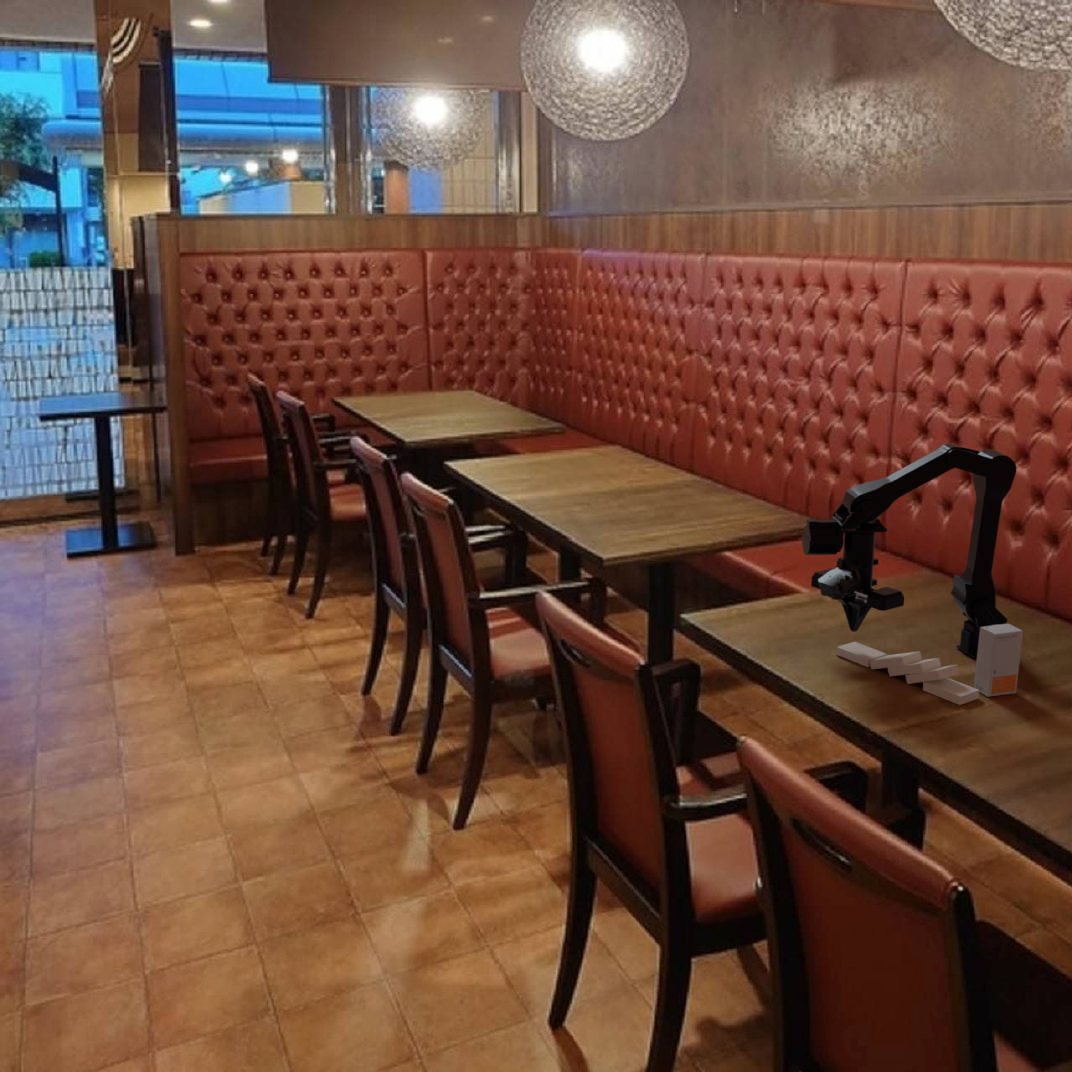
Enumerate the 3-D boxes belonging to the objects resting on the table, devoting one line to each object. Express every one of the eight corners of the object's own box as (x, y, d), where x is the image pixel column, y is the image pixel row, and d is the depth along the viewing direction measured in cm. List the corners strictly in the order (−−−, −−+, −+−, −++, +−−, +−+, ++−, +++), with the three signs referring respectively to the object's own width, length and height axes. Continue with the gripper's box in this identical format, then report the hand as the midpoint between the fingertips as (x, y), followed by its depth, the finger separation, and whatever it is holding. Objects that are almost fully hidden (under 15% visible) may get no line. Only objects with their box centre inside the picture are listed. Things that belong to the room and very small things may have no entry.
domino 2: (869, 661, 214) (901, 657, 207) (887, 655, 216) (920, 651, 209) (871, 669, 213) (904, 666, 207) (889, 663, 216) (922, 660, 209)
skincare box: (988, 698, 200) (994, 634, 196) (973, 688, 204) (978, 626, 200) (1017, 693, 201) (1024, 630, 198) (1002, 684, 205) (1008, 622, 202)
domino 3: (887, 668, 210) (920, 663, 203) (905, 662, 213) (939, 657, 206) (889, 676, 210) (923, 672, 203) (908, 670, 212) (941, 666, 206)
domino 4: (905, 675, 207) (937, 670, 200) (924, 669, 209) (957, 664, 202) (907, 684, 206) (940, 679, 199) (927, 678, 209) (960, 673, 202)
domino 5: (923, 681, 203) (960, 696, 196) (942, 675, 206) (979, 690, 199) (922, 690, 203) (959, 705, 197) (941, 684, 206) (978, 698, 199)
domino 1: (836, 646, 220) (868, 659, 214) (854, 641, 223) (886, 653, 216) (836, 654, 221) (867, 667, 214) (854, 649, 223) (886, 662, 217)
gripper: (792, 549, 218) (789, 625, 223) (866, 573, 203) (861, 654, 207) (833, 540, 224) (829, 614, 228) (908, 562, 209) (903, 642, 213)
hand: (853, 631), depth 219 cm, fingers closed
